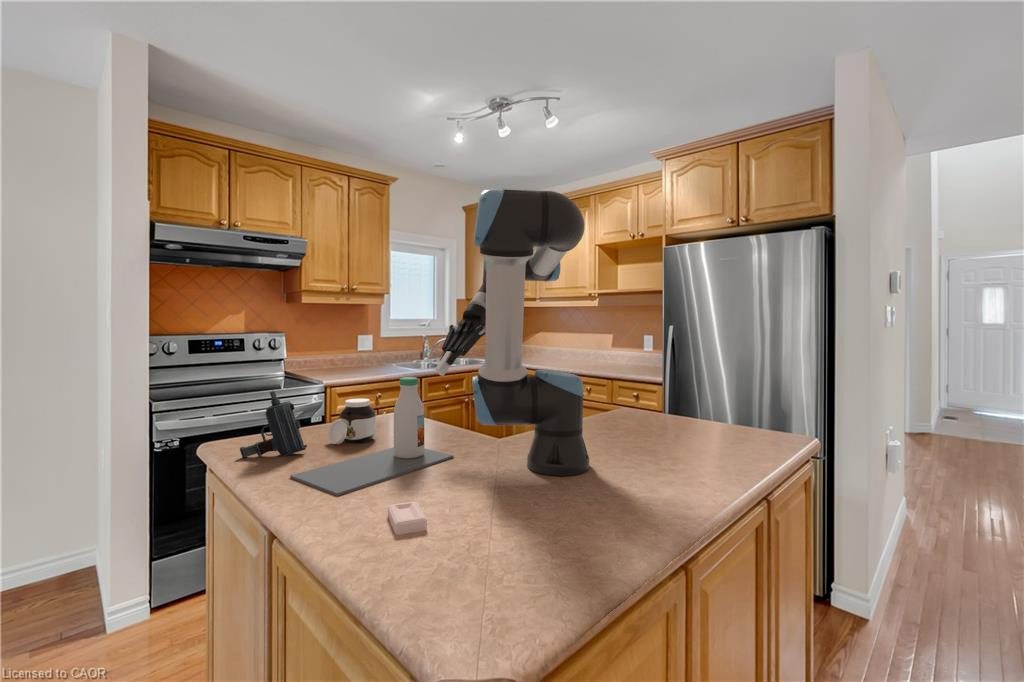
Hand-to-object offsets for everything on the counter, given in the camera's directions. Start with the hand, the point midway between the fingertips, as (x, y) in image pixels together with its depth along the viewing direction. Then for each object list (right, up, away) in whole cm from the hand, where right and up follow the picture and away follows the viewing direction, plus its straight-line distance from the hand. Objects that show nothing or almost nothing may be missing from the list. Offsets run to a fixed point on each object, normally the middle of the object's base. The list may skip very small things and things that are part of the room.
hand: (439, 372), depth 136 cm
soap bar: (+1, -24, -47) cm, 53 cm away
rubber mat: (-13, -22, -16) cm, 30 cm away
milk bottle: (-7, -21, -8) cm, 23 cm away
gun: (-42, -21, -7) cm, 47 cm away
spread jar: (-26, -21, +8) cm, 34 cm away
